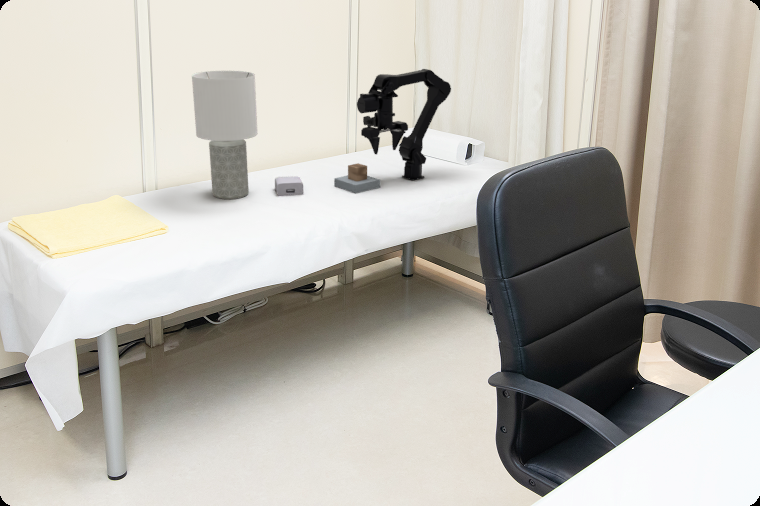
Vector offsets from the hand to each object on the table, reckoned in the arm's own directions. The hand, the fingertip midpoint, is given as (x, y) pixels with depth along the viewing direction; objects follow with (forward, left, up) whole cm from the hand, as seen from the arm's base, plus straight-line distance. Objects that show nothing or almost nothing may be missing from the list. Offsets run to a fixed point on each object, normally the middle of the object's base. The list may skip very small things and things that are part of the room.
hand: (385, 152), depth 276 cm
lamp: (+53, -23, -12) cm, 59 cm away
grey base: (+12, -2, -12) cm, 17 cm away
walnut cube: (+12, -2, -9) cm, 15 cm away
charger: (+34, -15, -12) cm, 39 cm away
